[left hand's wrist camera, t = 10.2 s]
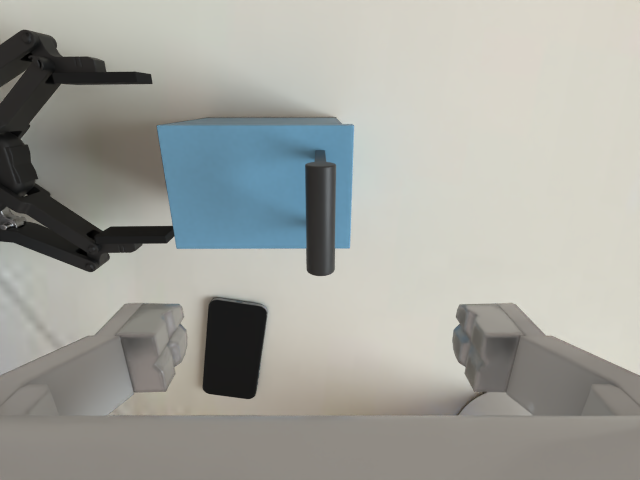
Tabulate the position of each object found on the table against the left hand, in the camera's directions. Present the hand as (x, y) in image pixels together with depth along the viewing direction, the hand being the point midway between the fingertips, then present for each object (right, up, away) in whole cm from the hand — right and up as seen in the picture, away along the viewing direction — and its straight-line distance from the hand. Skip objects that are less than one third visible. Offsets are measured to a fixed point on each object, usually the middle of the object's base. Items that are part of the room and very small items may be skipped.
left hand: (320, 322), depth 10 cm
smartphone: (-11, -12, +36) cm, 39 cm away
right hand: (-14, +9, +21) cm, 27 cm away
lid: (-4, +7, +17) cm, 18 cm away
